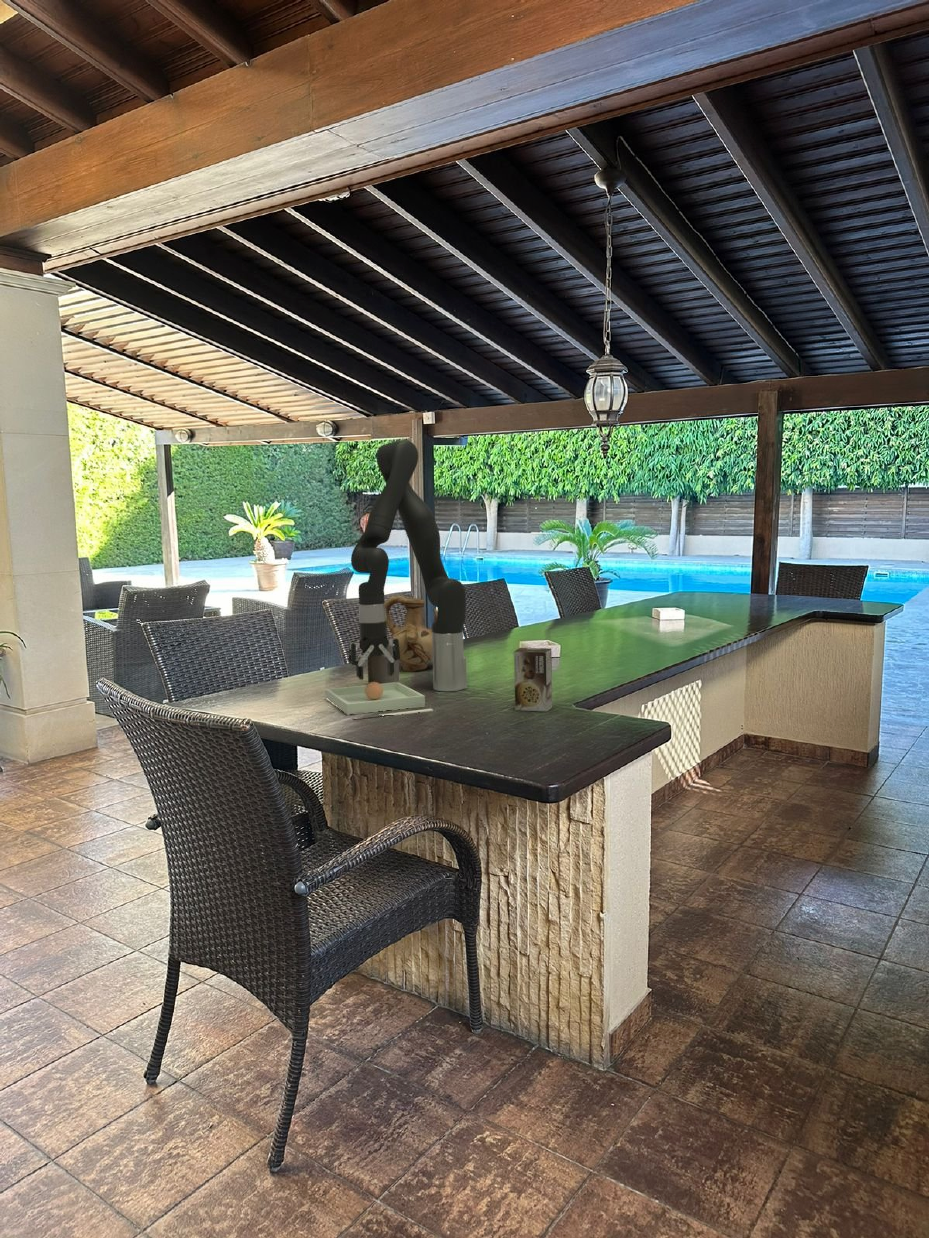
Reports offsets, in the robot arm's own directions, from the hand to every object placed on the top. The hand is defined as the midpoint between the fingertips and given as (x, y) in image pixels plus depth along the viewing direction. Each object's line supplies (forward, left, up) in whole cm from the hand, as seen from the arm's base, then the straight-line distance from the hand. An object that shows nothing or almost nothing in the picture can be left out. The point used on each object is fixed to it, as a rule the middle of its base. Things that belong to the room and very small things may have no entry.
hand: (375, 677), depth 245 cm
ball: (0, 0, -4) cm, 4 cm away
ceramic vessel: (-29, -43, -8) cm, 52 cm away
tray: (0, 0, -7) cm, 7 cm away
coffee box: (-36, +27, -8) cm, 45 cm away
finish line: (0, +16, -7) cm, 17 cm away
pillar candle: (-10, -21, -8) cm, 25 cm away
